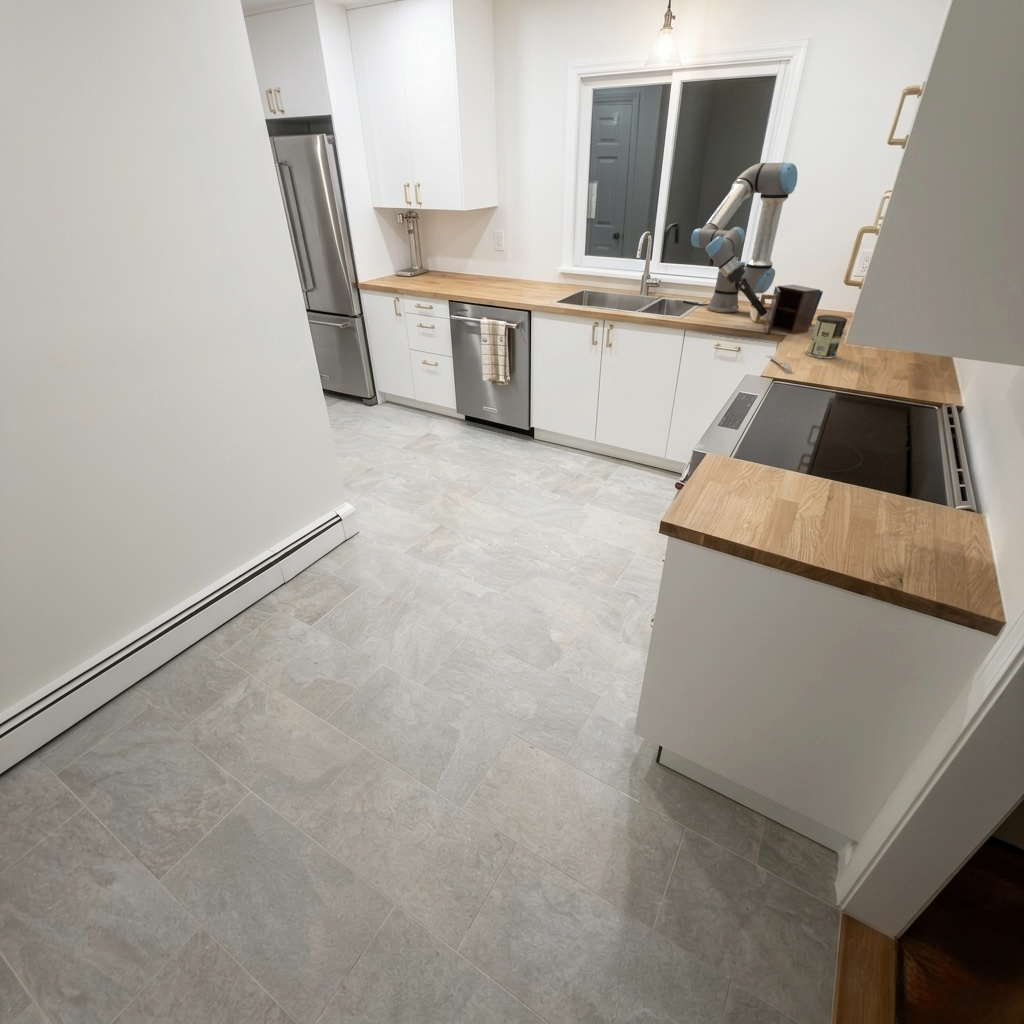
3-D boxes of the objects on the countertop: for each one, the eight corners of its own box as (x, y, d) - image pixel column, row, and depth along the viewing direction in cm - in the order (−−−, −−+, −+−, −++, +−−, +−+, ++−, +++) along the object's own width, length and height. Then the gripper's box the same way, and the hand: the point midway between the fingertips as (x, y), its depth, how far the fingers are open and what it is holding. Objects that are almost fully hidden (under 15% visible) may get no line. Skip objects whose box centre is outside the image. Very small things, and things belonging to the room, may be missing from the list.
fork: (770, 362, 208) (771, 355, 207) (793, 373, 189) (795, 365, 188) (762, 362, 208) (764, 355, 207) (785, 373, 189) (787, 365, 188)
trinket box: (773, 324, 253) (778, 303, 248) (749, 323, 255) (754, 302, 250) (768, 319, 262) (774, 299, 257) (745, 318, 264) (750, 298, 259)
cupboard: (792, 334, 238) (804, 291, 228) (767, 327, 249) (777, 285, 239) (807, 332, 242) (820, 289, 232) (782, 325, 252) (793, 284, 243)
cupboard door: (753, 332, 239) (763, 290, 229) (751, 326, 250) (761, 285, 240) (769, 334, 237) (780, 291, 227) (767, 327, 248) (777, 286, 239)
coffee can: (830, 352, 213) (842, 315, 206) (838, 359, 205) (851, 321, 197) (803, 350, 215) (814, 314, 208) (809, 357, 206) (821, 319, 199)
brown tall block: (808, 326, 251) (819, 292, 243) (794, 324, 255) (804, 290, 247) (815, 324, 254) (825, 291, 246) (801, 322, 259) (811, 289, 251)
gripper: (740, 266, 224) (773, 311, 228) (741, 262, 235) (771, 304, 239) (724, 279, 228) (756, 323, 232) (725, 274, 240) (756, 316, 244)
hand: (764, 313), depth 236 cm, fingers closed on cupboard door, 2 cm apart
